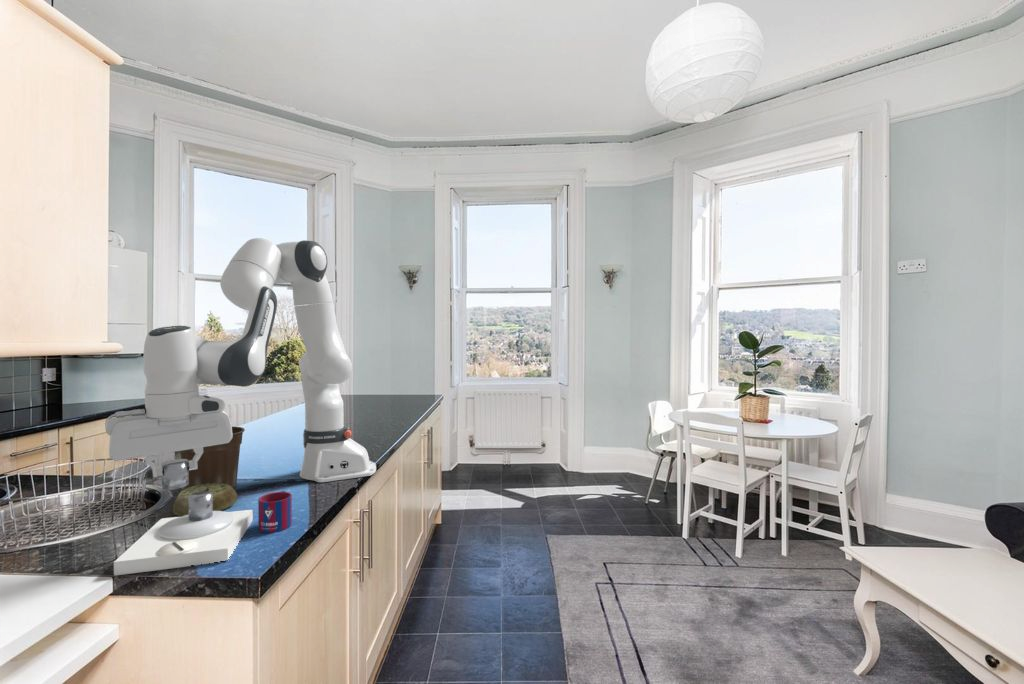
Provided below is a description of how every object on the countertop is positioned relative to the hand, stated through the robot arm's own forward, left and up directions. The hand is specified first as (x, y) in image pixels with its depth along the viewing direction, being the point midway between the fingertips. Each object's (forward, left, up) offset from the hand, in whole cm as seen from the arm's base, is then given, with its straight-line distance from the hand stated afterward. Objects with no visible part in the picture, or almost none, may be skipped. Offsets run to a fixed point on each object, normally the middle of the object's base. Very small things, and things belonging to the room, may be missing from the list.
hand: (175, 472), depth 94 cm
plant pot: (+4, -37, -15) cm, 40 cm away
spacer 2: (-3, -6, -12) cm, 14 cm away
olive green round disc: (+1, -22, -16) cm, 27 cm away
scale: (-3, 0, -15) cm, 15 cm away
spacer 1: (0, 0, -3) cm, 3 cm away
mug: (-18, -6, -15) cm, 25 cm away
